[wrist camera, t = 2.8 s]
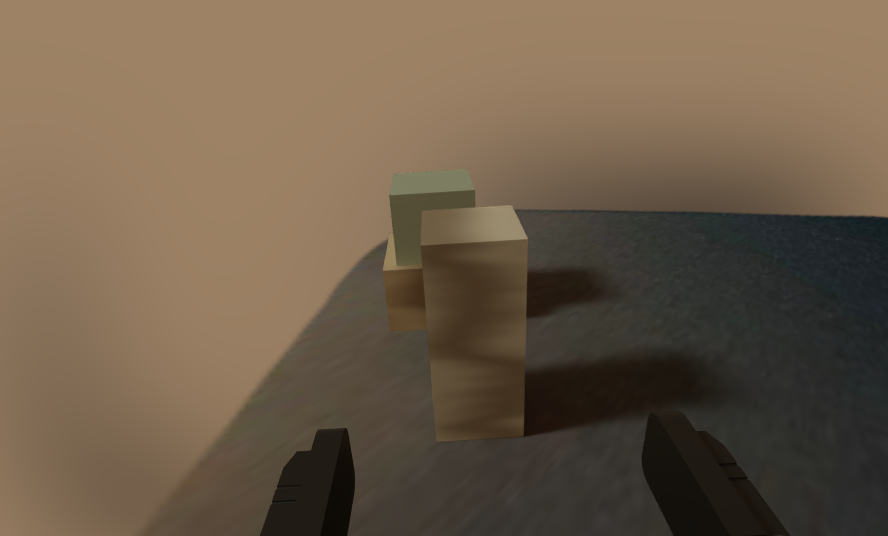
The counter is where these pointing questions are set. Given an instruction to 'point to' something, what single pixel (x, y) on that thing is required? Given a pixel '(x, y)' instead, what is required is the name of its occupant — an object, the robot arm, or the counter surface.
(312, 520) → the robot arm
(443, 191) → the sage block
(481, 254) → the birch pillar
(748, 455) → the counter surface
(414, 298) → the oak block
